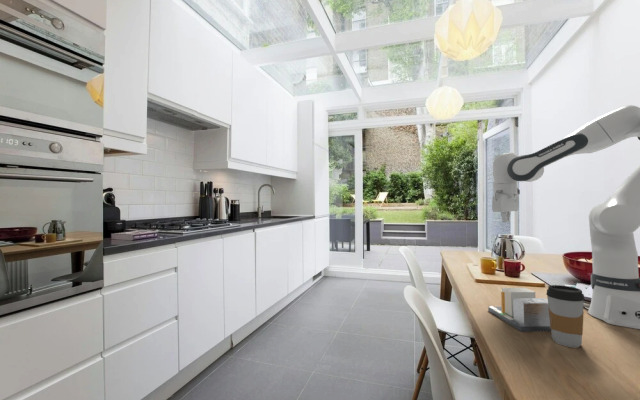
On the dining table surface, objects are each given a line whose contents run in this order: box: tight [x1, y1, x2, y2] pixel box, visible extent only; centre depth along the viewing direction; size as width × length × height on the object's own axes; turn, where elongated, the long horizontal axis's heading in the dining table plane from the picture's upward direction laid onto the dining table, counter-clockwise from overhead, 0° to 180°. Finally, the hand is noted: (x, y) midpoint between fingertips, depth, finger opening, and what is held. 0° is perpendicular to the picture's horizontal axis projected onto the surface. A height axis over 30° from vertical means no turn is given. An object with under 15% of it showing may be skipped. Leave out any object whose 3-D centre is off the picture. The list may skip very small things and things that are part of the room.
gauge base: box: [487, 297, 551, 333], centre depth 100 cm, size 18×12×8 cm, turn 179°
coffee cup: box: [545, 284, 586, 348], centre depth 83 cm, size 8×8×15 cm
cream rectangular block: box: [500, 287, 536, 317], centre depth 101 cm, size 6×10×8 cm, turn 89°
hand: (506, 222), depth 130 cm, fingers closed
